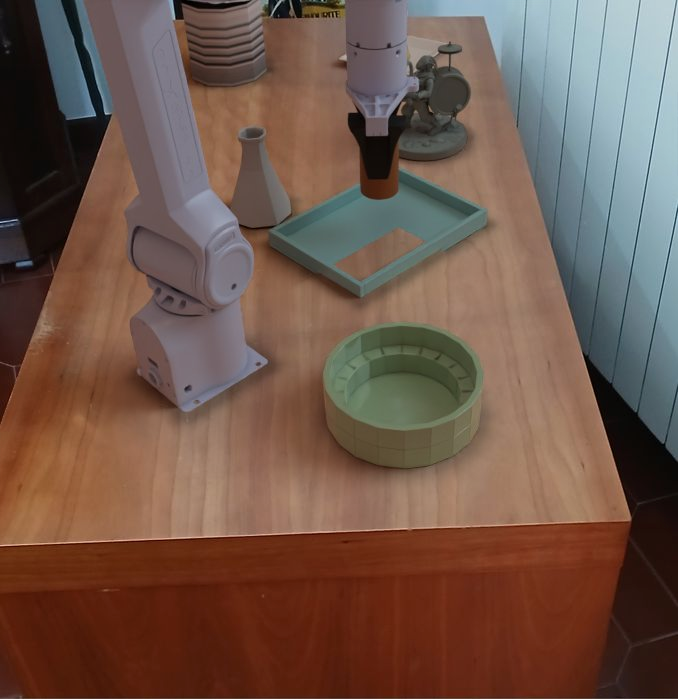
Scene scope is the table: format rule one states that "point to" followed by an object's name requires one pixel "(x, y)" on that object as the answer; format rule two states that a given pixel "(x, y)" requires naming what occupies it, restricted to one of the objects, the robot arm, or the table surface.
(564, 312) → the table surface
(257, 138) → the flask
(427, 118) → the figurine
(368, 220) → the tray
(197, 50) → the can
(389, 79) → the robot arm
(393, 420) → the bowl
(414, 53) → the dessert
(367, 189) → the brown cylinder
